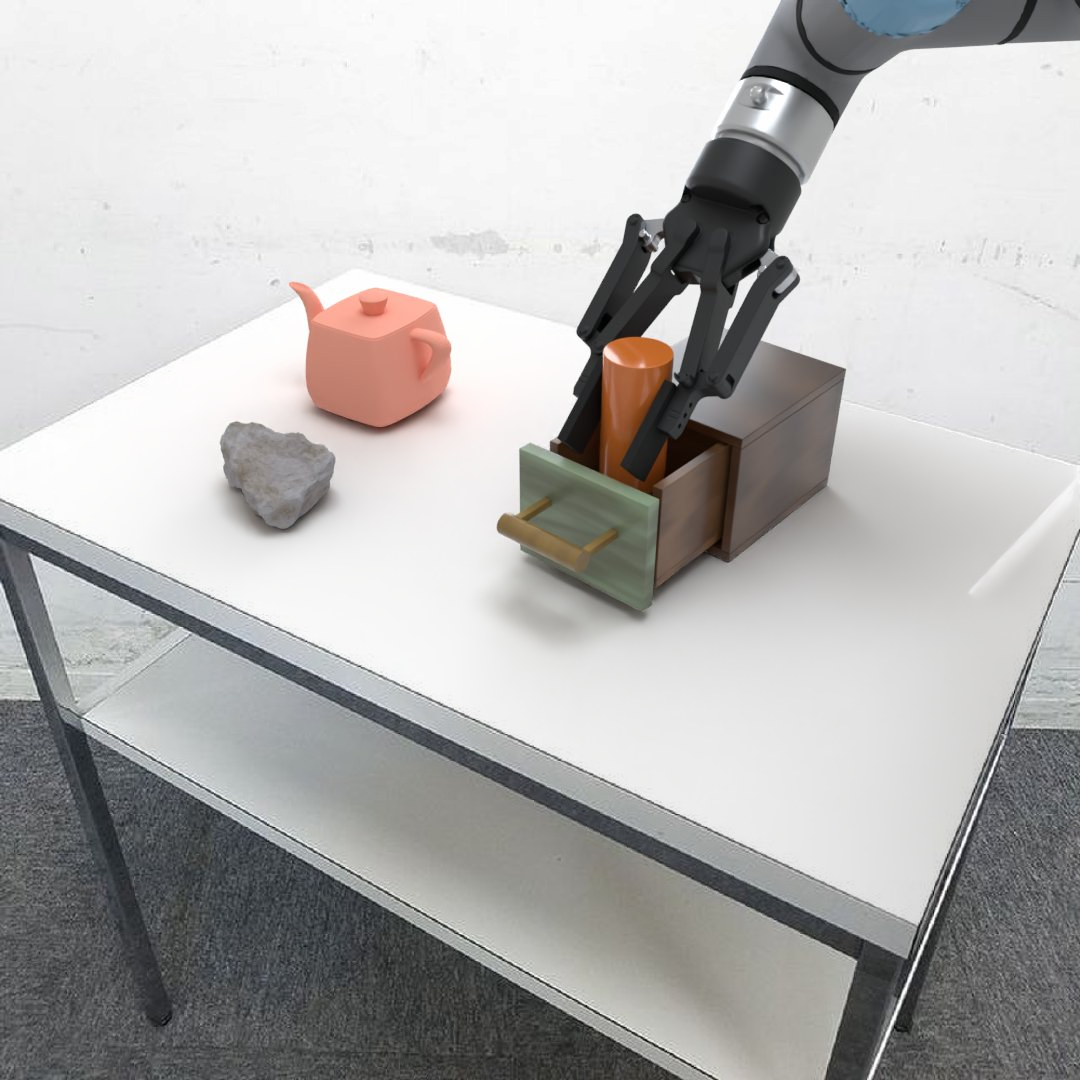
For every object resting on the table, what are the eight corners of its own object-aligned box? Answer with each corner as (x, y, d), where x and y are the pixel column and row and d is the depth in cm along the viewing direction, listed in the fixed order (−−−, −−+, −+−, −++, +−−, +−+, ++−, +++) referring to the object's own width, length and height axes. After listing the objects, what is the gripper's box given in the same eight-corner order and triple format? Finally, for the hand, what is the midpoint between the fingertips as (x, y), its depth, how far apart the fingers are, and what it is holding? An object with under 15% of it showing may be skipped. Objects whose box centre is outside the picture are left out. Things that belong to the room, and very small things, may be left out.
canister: (678, 476, 86) (688, 350, 80) (638, 503, 83) (645, 374, 77) (625, 453, 89) (631, 330, 83) (585, 479, 86) (588, 353, 80)
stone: (192, 505, 95) (179, 442, 92) (263, 462, 101) (254, 401, 97) (283, 544, 91) (273, 479, 87) (352, 496, 96) (345, 433, 93)
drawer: (598, 646, 79) (602, 537, 74) (475, 579, 86) (471, 475, 81) (748, 530, 91) (760, 429, 86) (630, 478, 97) (635, 381, 92)
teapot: (414, 451, 102) (406, 340, 96) (260, 397, 110) (244, 292, 104) (490, 398, 110) (487, 293, 104) (341, 352, 118) (331, 252, 112)
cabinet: (728, 562, 89) (742, 439, 83) (597, 502, 96) (601, 384, 90) (827, 484, 98) (846, 368, 92) (701, 434, 105) (711, 323, 99)
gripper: (632, 109, 84) (478, 398, 83) (858, 160, 74) (687, 488, 74) (671, 166, 90) (528, 436, 90) (884, 220, 81) (727, 523, 80)
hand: (600, 459), depth 82 cm, fingers closed on canister, 5 cm apart
